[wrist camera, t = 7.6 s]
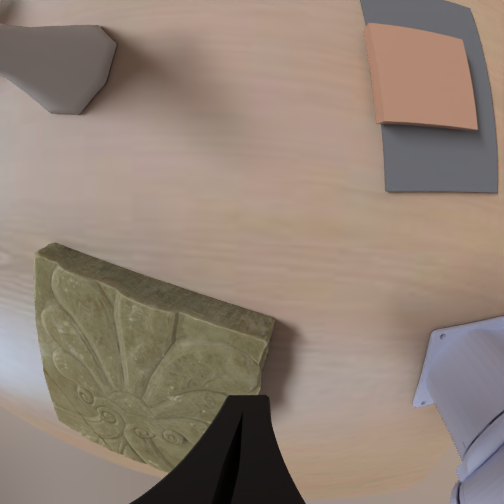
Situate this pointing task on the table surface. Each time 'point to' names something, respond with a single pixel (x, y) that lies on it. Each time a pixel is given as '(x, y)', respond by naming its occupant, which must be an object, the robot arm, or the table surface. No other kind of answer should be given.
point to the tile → (419, 78)
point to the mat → (433, 138)
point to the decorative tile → (140, 355)
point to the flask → (57, 63)
